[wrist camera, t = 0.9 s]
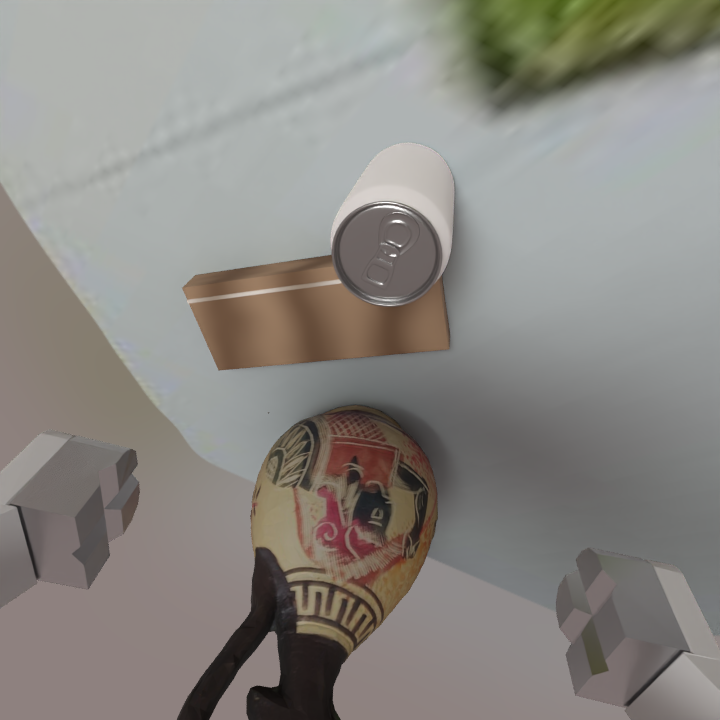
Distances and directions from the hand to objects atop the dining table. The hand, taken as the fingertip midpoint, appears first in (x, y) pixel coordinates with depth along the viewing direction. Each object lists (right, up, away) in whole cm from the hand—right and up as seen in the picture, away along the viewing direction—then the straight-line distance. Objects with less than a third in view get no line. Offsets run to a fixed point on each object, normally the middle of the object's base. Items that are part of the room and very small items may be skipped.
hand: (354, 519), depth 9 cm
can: (+3, +15, +26) cm, 30 cm away
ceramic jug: (0, -4, +40) cm, 40 cm away
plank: (-3, +8, +32) cm, 33 cm away
